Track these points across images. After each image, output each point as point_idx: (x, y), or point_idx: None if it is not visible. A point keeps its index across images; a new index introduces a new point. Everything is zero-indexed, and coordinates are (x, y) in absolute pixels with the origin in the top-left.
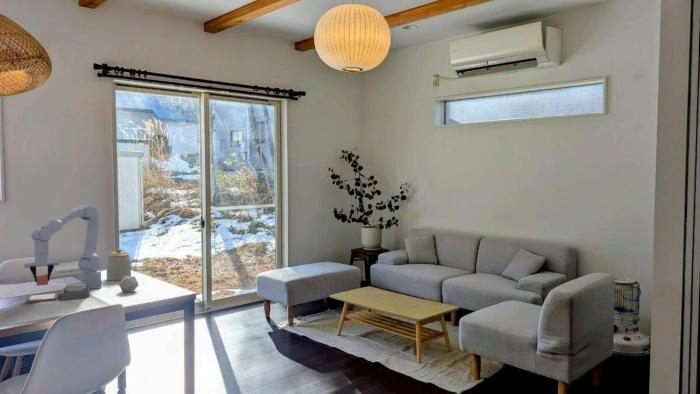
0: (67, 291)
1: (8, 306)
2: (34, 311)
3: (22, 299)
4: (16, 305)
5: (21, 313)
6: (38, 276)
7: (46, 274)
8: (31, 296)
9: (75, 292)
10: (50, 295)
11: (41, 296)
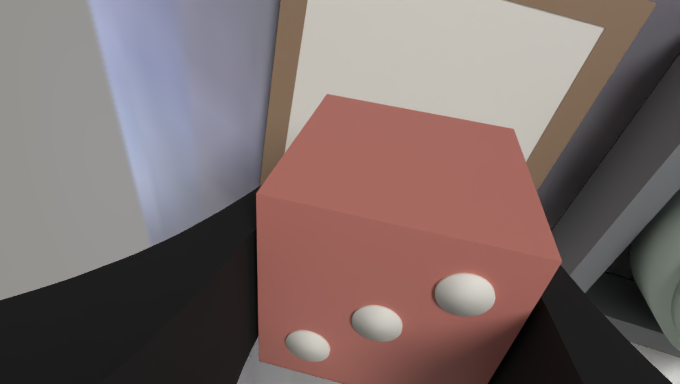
0: (640, 288)
1: (154, 195)
2: (300, 380)
3: (230, 3)
4: (202, 205)
5: (243, 368)
6: (292, 362)
7: (484, 340)
8: (311, 7)
9: (674, 352)
10: (502, 109)
11: (405, 92)
